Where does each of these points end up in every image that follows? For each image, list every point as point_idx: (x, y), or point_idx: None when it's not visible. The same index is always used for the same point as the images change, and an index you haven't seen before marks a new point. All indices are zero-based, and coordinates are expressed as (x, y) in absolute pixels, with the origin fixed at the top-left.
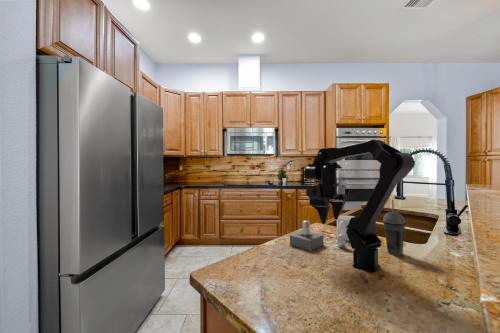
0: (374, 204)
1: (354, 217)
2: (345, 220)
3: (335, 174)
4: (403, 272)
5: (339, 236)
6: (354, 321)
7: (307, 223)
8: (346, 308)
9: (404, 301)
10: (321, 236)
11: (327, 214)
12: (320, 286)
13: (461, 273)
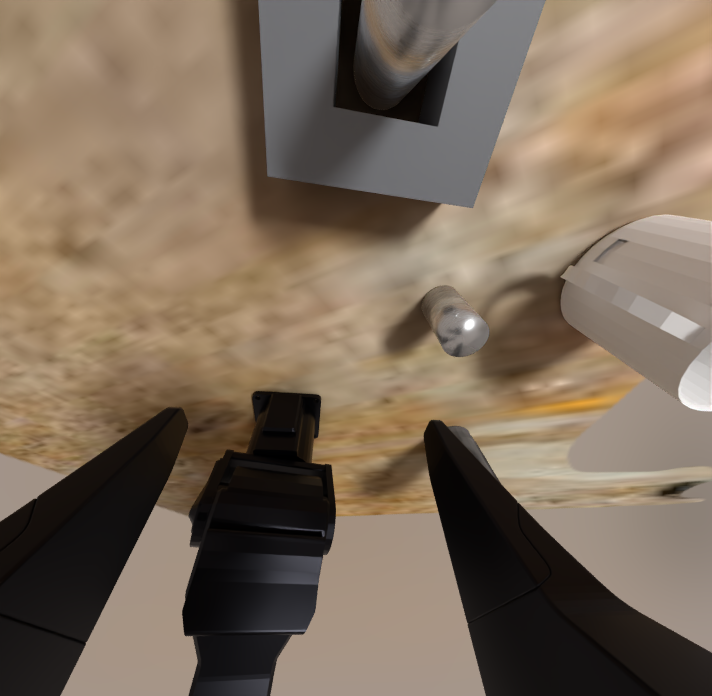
0: None
1: (212, 633)
2: (684, 358)
3: None
4: (319, 463)
5: (442, 332)
6: (20, 450)
7: (392, 15)
8: (36, 433)
9: (184, 478)
10: (443, 203)
11: (109, 572)
12: (34, 367)
13: (384, 508)
